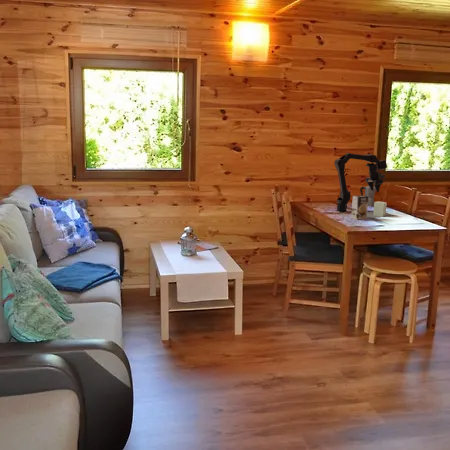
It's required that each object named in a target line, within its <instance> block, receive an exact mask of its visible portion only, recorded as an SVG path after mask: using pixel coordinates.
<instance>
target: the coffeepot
mask: <svg viewBox="0 0 450 450" xmlns="http://www.w3.org/2000/svg"><path fill="white" fill-rule="evenodd" d="M363 190H364V193H363ZM359 191H360V196H362V195H363V196H368V206H371V207H370V208H373V207H372V206H374V203H375V194H376V192H377V191H376V189H375V186H373V191H372V190H371V189H370V187H369V185H367V186H361V187H360V188H359Z"/></svg>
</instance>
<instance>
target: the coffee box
mask: <svg viewBox="0 0 450 450" xmlns="http://www.w3.org/2000/svg"><path fill="white" fill-rule="evenodd" d="M351 202H352V203H351V215H350V219H352V220H355V221H358V220H360V221H361V220H366V219H367V218H368V217H367V212H368V196H365V195H364V194H363V195H362V196H361V195H352V201H351Z"/></svg>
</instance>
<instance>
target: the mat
mask: <svg viewBox="0 0 450 450" xmlns="http://www.w3.org/2000/svg"><path fill="white" fill-rule="evenodd" d="M373 213H374V211H367V218H372V219H377V218H390V217H397V215H395V214H391V213H388V212H386V216H383V217H381V216H373Z"/></svg>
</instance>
